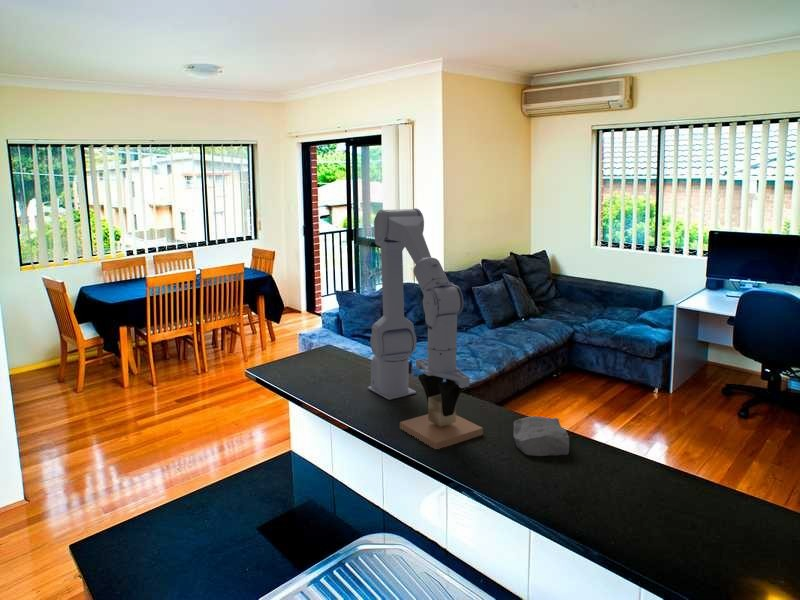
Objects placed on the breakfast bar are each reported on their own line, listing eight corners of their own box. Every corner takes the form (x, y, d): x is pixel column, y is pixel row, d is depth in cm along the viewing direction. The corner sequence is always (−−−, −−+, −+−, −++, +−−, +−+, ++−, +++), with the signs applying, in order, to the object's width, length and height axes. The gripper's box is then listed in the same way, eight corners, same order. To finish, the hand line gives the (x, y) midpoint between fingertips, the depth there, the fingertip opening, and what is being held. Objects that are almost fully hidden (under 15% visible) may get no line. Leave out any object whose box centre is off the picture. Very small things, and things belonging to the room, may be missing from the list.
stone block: (521, 466, 113) (574, 456, 112) (517, 442, 112) (570, 432, 111) (510, 440, 124) (558, 431, 124) (506, 418, 123) (554, 409, 123)
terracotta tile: (399, 431, 124) (399, 422, 124) (444, 417, 131) (444, 409, 131) (435, 452, 115) (436, 442, 114) (482, 437, 121) (482, 427, 121)
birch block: (428, 420, 123) (428, 397, 122) (443, 415, 125) (443, 393, 124) (440, 426, 120) (440, 403, 119) (455, 422, 122) (456, 398, 121)
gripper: (404, 341, 123) (404, 404, 125) (450, 359, 111) (448, 428, 114) (431, 336, 127) (430, 397, 129) (478, 352, 115) (476, 419, 118)
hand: (441, 411), depth 122 cm, fingers closed on birch block, 4 cm apart
